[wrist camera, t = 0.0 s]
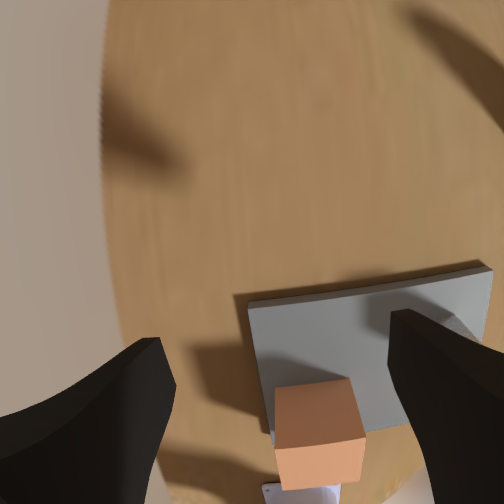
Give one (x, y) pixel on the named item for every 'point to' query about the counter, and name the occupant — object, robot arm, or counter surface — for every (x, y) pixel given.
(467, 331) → the post
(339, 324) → the board
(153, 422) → the robot arm
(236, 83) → the counter surface
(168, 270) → the counter surface
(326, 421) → the salmon pink block
